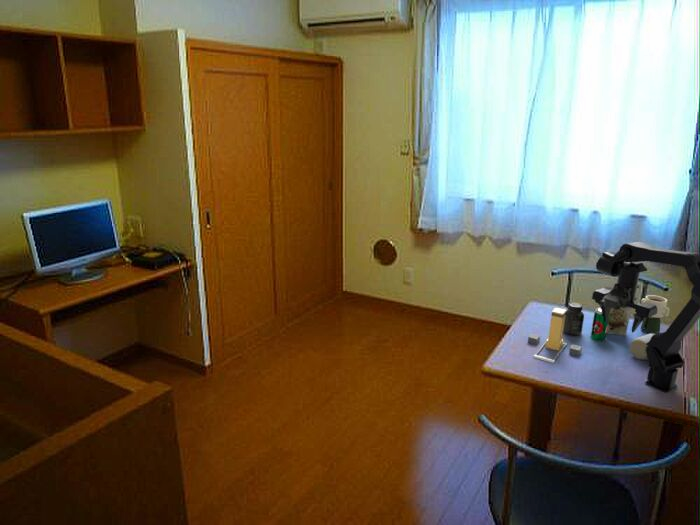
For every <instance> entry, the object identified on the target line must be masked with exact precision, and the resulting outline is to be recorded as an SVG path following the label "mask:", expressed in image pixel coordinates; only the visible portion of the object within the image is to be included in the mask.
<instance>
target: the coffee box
mask: <svg viewBox="0 0 700 525" xmlns="http://www.w3.org/2000/svg"><path fill="white" fill-rule="evenodd" d="M603 288H604V289H607V290H610V291H612V290H613V288H614V287H611V286H610V287H609V286H603ZM631 312H632V308H631V307H628V306H627V307H626V308H625V307H621V308H620V309H618V310H615V309H613V308H611V309H610V320H609V325H608V331H607V335H617V336H627V332H628V327H629V322H630V318H631Z"/></svg>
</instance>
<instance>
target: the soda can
mask: <svg viewBox="0 0 700 525" xmlns="http://www.w3.org/2000/svg"><path fill="white" fill-rule="evenodd" d="M609 320H610V314H609V318H608V320H607V322H604V318H603V314H602V310H601V307H600V306H599V307H596V308H595V310H594V314H593V319H592V325H591V332H590V338H591V339H592V340H595V341H597V342H604V341H607V335H608V334H607V331H608V325H609Z"/></svg>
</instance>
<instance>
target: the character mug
mask: <svg viewBox="0 0 700 525" xmlns="http://www.w3.org/2000/svg"><path fill="white" fill-rule="evenodd" d="M644 302H647V303H650V304H653V305H656V307H657V309H658V310H657V314H656V315H653V316H651V317H648V318H647V317H646V318H645V319H644V320H643V321H642V322H641V324H640V325H641V326H640V330H642V331H644V330H645V332H646V333H648V334H659V333H661V318H663V317H664V316H665V317H668V316H669V314H670V308H669V307H667V305H668V299H667V298H665V297H662V296H660V295H655V294H651V295H646V296H645V298H642V299H641V301H640V304H641V303H644Z"/></svg>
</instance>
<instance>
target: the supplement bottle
mask: <svg viewBox="0 0 700 525" xmlns="http://www.w3.org/2000/svg"><path fill="white" fill-rule="evenodd" d="M565 310H566V315H565V322H564V328H563V335H566V336H569V337H581V336H582V332H583V326H584V320H585V314H584V313H583V304H581V303H579V302H568V303H567V309H565Z"/></svg>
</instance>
